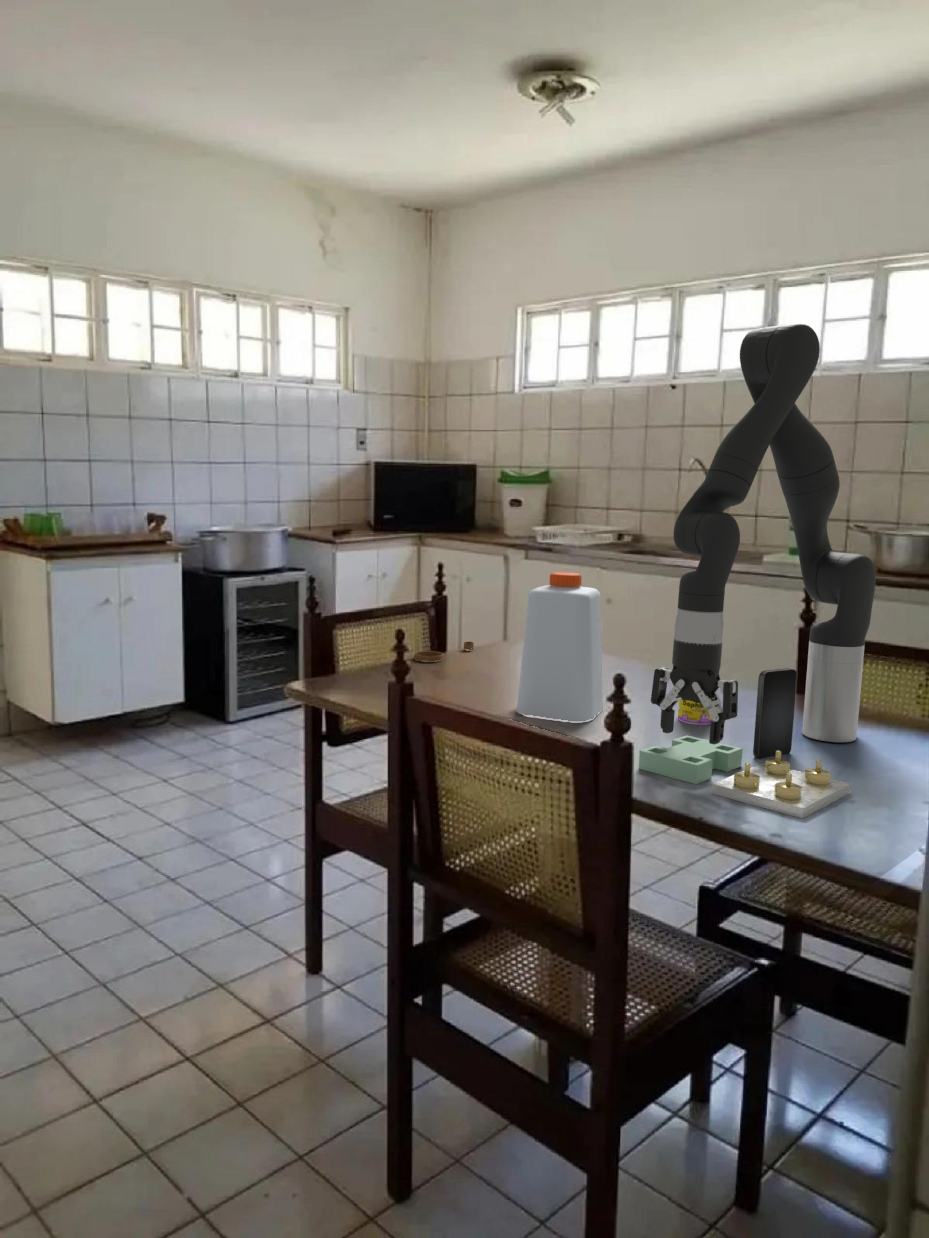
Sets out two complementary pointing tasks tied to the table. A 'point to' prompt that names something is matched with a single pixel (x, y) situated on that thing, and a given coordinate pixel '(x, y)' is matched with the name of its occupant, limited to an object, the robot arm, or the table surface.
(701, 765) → the board
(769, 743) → the phone
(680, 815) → the table surface
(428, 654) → the place setting
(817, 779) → the chassis
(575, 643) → the plastic bottle
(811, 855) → the table surface
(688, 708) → the supplement bottle
